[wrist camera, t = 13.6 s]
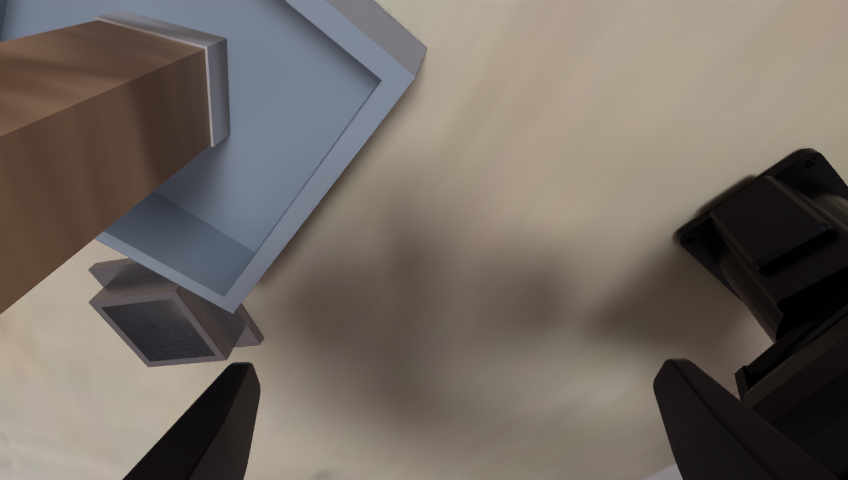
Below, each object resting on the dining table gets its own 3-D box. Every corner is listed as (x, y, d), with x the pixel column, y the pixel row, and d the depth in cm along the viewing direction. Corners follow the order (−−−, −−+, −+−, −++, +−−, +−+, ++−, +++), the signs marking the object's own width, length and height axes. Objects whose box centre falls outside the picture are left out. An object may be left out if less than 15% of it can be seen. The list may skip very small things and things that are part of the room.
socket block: (204, 246, 25) (180, 275, 23) (263, 338, 30) (247, 369, 27) (95, 263, 27) (63, 291, 25) (166, 347, 31) (144, 377, 29)
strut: (227, 38, 17) (-82, 169, 8) (230, 133, 20) (-1, 322, 10) (123, 10, 17) (-333, 109, 7) (139, 109, 20) (-187, 281, 10)
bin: (427, 47, 18) (415, 77, 14) (267, 259, 25) (232, 313, 22) (41, -295, 13) (-126, -383, 9) (-12, 91, 21) (-116, 125, 17)
